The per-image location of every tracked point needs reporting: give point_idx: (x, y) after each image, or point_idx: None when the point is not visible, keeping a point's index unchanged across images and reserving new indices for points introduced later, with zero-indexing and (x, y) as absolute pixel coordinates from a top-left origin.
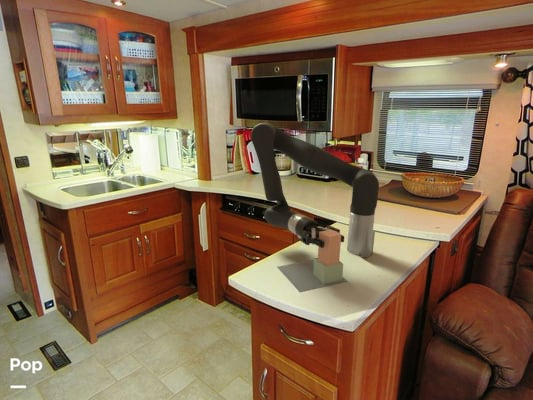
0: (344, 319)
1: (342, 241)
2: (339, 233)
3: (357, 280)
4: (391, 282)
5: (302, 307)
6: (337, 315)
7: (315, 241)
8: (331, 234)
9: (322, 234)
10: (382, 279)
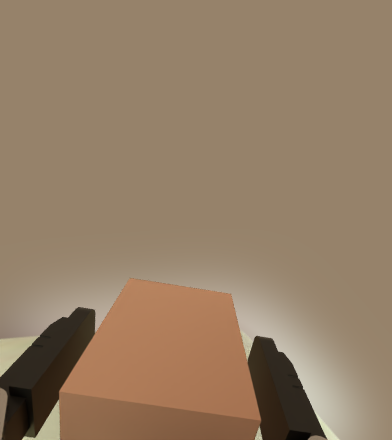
0: (241, 330)
1: (93, 334)
2: (128, 286)
3: (53, 423)
4: (20, 339)
5: (325, 425)
6: (247, 345)
7: (310, 412)
8: (189, 306)
9: (244, 365)
10: (5, 364)
